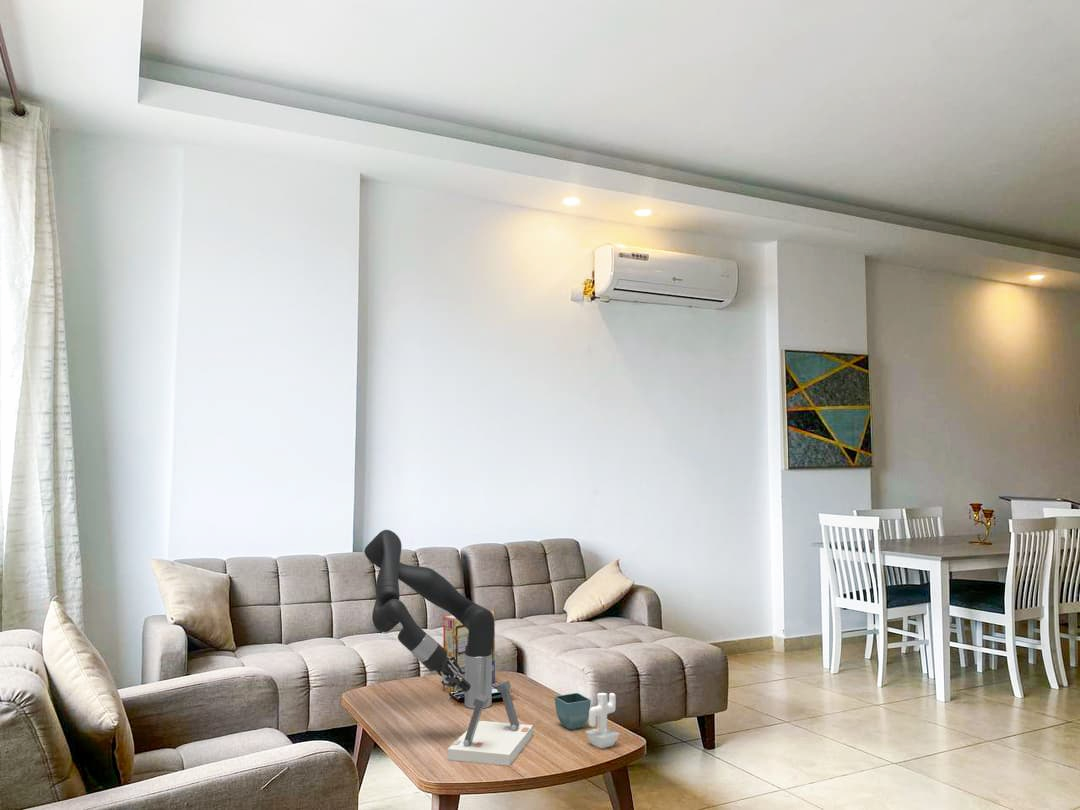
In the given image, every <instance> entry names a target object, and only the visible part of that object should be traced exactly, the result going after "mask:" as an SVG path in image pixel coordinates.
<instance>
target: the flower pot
mask: <svg viewBox="0 0 1080 810" xmlns="http://www.w3.org/2000/svg"><path fill="white" fill-rule="evenodd" d="M553 697H554V704H555V705H554V706H555V712H556V715H557V718H558V721H559V722H560V724H561V726H562V727H564V728H566V729H567V730H575V729H580V728H584V727H585V725H586V724H587V722H588V721H589V710H590V708H591V704H592V703H591V702H592V699H590V698H589V697H586V696H584V695H582V694H581V693H579V692H573V693H569V694H568V693H567V694H561V695H556V696H553Z"/></svg>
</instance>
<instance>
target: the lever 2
mask: <svg viewBox="0 0 1080 810" xmlns="http://www.w3.org/2000/svg"><path fill="white" fill-rule="evenodd" d="M510 689H511V682H510V679H509V680H506V681H503V682H499V683H498V684H497V685H496V690H497V693H498V694H500V695H501V697H502V700H503V705H504V708H505V711H506V715H507V718H508V719H507V720H508V723H510V725H511V730H512V731H515V730H516V729H517V728H518V727H519V724H520V722H519V720H518V716H517V712H516V710H515V709H516V708H515V706H514V702H513V700H512V699H513V698H512V695H511V692H510Z"/></svg>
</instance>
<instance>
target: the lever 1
mask: <svg viewBox="0 0 1080 810" xmlns="http://www.w3.org/2000/svg"><path fill="white" fill-rule="evenodd" d="M488 699H489V697H486V696H484V695H482V694H479V695H478V696H477V697H476V698H475V700H474V703H473V705H475V709H474V708H473V713H472V716H471V719H470V721H469V724H468V728H467V730H468V731H467V730H466V731H467V734H466V737H465V740H464V742H463V744H464V746H468V745H470V743H471V742H472V741H473V737H474V734H475V731H476V728H477V725H478V722H479V721H480V718H481V715H482V711H483V709H484V708H483V707H484V706H485V705H486V704H487V702H488Z"/></svg>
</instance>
